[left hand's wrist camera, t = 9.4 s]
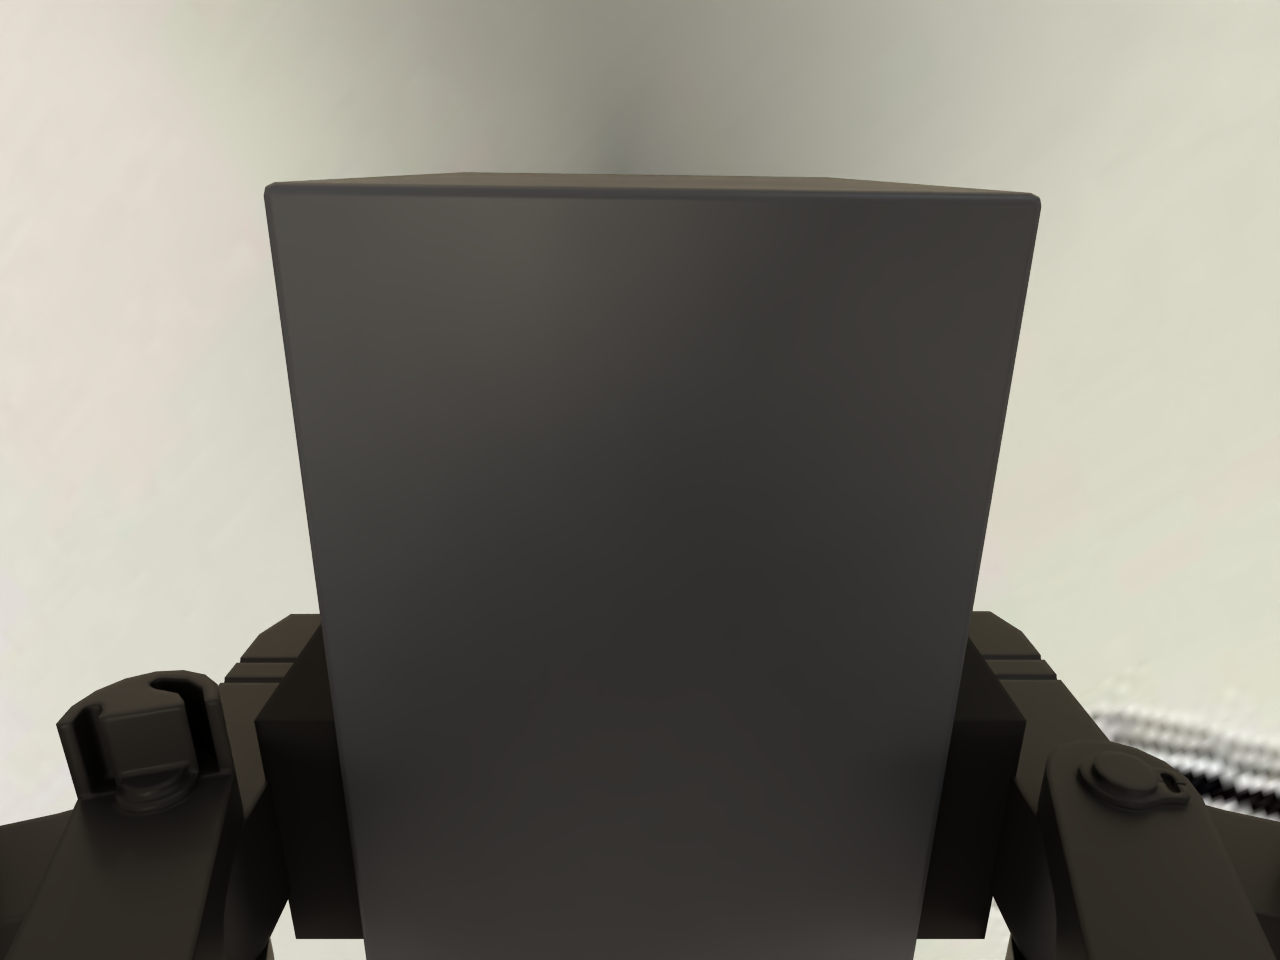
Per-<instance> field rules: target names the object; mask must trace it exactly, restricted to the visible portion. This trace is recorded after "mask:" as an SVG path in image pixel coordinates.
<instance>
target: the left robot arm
mask: <svg viewBox="0 0 1280 960" xmlns="http://www.w3.org/2000/svg"><path fill="white" fill-rule="evenodd" d="M1056 676H1057V675H1056V674H1055V672H1054V671H1053V670H1052V669H1051V667H1050V666H1049V665H1048V664H1047V662H1046V661H1045V660H1041V655H1040V654H1039V652H1038V651H1037V650H1036V649H1035V647H1034V646H1033V645H1032V644H1031V642H1030V641H1029V640H1028V639H1027V638H1026V636H1025V635H1024V634H1023V633H1022V631H1020V630H1018V629H1017V628H1015V627H1014V626H1012V625H1011V624H1009V623H1007V622H1006V621H1004V620H1003V619H1001V618H1000V617H998V616H996V615H995V614H993V613H992V612H990V611H972V616H971V622H970V628H969V634H968V640H967V646H966V651H965V657H964V663H963V669H962V675H961V681H960V687H959V693H958V698H957V704H956V710H955V716H954V722H953V728H952V734H951V740H950V745H949V751H948V757H947V763H946V769H945V775H944V781H943V787H942V792H941V798H940V804H939V810H938V816H937V822H936V828H935V834H934V839H933V845H932V851H931V857H930V863H929V869H928V875H927V881H926V886H925V892H924V898H923V904H922V910H921V916H920V922H919V928H918V933H917V939H985V934H986V928H987V923H988V918H989V913H990V908H991V903H992V897H994V899H995V901H996V903H997V906H998V908H999V910H1000V912H1001V914H1002V916H1003V918H1004V920H1005V922H1006V924H1007V926H1008V929H1009V931H1010V933H1011V934H1010V939H1009V944H1008V949H1007V953H1006V958H1005V960H1280V822H1277V821H1273V820H1268V819H1263V818H1258V817H1254V816H1249V815H1244V814H1240V813H1235V812H1230V811H1225V810H1222V809H1218V808H1214V807H1211V806H1207V805H1205V803H1204V801H1203V799H1202V797H1201V796H1200V794H1199V793H1198V792H1197V790H1196V789H1195V788H1194V786H1193V785H1192V784H1191V782H1190V781H1189V780H1188V779H1187V778H1186V777H1185V776H1183V775H1182V774H1181V773H1179V772H1178V771H1177V770H1175V769H1174V768H1173V767H1171V766H1170V765H1169V764H1167V763H1166V762H1164V761H1162V760H1160V759H1158V758H1156V757H1154V756H1152V755H1150V754H1147V753H1145V752H1143V751H1141V750H1139V749H1137V748H1133V747H1129V746H1126V745H1122V744H1118V743H1114V742H1111V741H1109V739H1108V738H1107V737H1106V736H1105V734H1104V733H1103V732H1102V731H1101V729H1100V728H1099V727H1098V726H1097V724H1096V723H1095V722H1094V721H1093V720H1092V718H1091V717H1090V716H1089V715H1088V713H1087V712H1086V711H1085V710H1084V708H1083V707H1082V706H1081V705H1080V703H1079V702H1078V701H1077V700H1076V698H1075V697H1074V696H1073V695H1072V693H1071V692H1070V691H1069V690H1068V688H1067V687H1066V686H1065V685H1064V683H1063V682H1062V681H1061V680H1057V677H1056ZM56 726H57V729H58V733H59V736H60V739H61V743H62V746H63V750H64V753H65V757H66V760H67V763H68V767H69V770H70V774H71V777H72V780H73V784H74V787H75V791H76V794H77V798H78V800H77V802H76V804H75V807H74V809H73V810H69V811H65V812H62V813H58V814H54V815H49V816H44V817H40V818H35V819H30V820H26V821H21V822H16V823H12V824H7V825H2V826H0V960H274V953H273V949H272V944H271V939H270V936H271V934H272V932H273V930H274V928H275V926H276V924H277V922H278V919H279V917H280V915H281V913H282V911H283V909H284V907H285V905H286V903H287V900H289V905H290V910H291V915H292V920H293V926H294V931H295V936H296V939H364V937H363V930H362V922H361V915H360V908H359V900H358V893H357V885H356V878H355V870H354V863H353V856H352V848H351V841H350V833H349V826H348V818H347V811H346V803H345V796H344V789H343V781H342V774H341V766H340V759H339V751H338V744H337V736H336V729H335V722H334V714H333V707H332V699H331V692H330V684H329V677H328V670H327V662H326V655H325V647H324V640H323V632H322V625H321V617H320V614H290V615H289V616H287V617H286V618H284V619H283V620H281V621H279V622H278V623H276V624H275V625H273V626H272V627H270V628H269V629H267V630H265V631H264V632H262V633H261V634H259V635H258V637H257V638H256V639H255V640H254V642H253V643H252V644H251V645H250V647H249V648H248V649H247V650H246V652H245V653H244V654H243V655H242V657H241V658H240V663H236V664H235V665H234V667H233V668H232V669H231V670H230V672H229V673H228V674H227V676H226V677H225V681H224V683H220V684H219V686H218V684H216V683H215V682H214V681H213V680H211V679H210V678H209V677H207V676H206V675H204V674H200V673H195V672H190V671H185V670H177V671H157V672H152V673H148V674H143V675H139V676H135V677H130V678H126V679H124V680H121V681H119V682H116V683H114V684H111V685H109V686H106V687H104V688H102V689H99V690H97V691H95V692H93V693H92V694H90V695H89V696H87V697H86V698H84V699H83V700H81V701H79V702H78V703H76V704H75V705H73V706H72V707H71V708H70V709H69V710H68V711H67V712H66V713H65V715H64V716H63V717H62V718H61V719H60V720H59V721H58V722H57V724H56Z"/></svg>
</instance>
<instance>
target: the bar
mask: <svg viewBox="0 0 1280 960" xmlns="http://www.w3.org/2000/svg"><path fill="white" fill-rule="evenodd" d="M264 201H265V208H266V216H267V223H268V231H269V238H270V246H271V253H272V260H273V268H274V275H275V283H276V290H277V298H278V305H279V312H280V320H281V327H282V335H283V342H284V350H285V357H286V365H287V372H288V379H289V387H290V394H291V402H292V409H293V417H294V424H295V431H296V439H297V446H298V454H299V461H300V469H301V476H302V484H303V491H304V498H305V506H306V513H307V521H308V528H309V536H310V543H311V551H312V558H313V565H314V573H315V580H316V588H317V595H318V603H319V610H320V617H321V625H322V632H323V640H324V647H325V655H326V662H327V670H328V677H329V684H330V692H331V699H332V707H333V714H334V722H335V729H336V736H337V744H338V751H339V759H340V766H341V774H342V781H343V789H344V796H345V803H346V811H347V818H348V826H349V833H350V841H351V848H352V856H353V863H354V870H355V878H356V885H357V893H358V900H359V908H360V915H361V922H362V930H363V937H364V945H365V952H366V960H913V957H914V951H915V945H916V939H917V933H918V928H919V922H920V916H921V910H922V904H923V898H924V892H925V886H926V881H927V875H928V869H929V863H930V857H931V851H932V845H933V839H934V834H935V828H936V822H937V816H938V810H939V804H940V798H941V792H942V787H943V781H944V775H945V769H946V763H947V757H948V751H949V745H950V740H951V734H952V728H953V722H954V716H955V710H956V704H957V698H958V693H959V687H960V681H961V675H962V669H963V663H964V657H965V651H966V646H967V640H968V634H969V628H970V622H971V616H972V610H973V604H974V599H975V593H976V587H977V581H978V575H979V569H980V563H981V557H982V552H983V546H984V540H985V534H986V528H987V522H988V516H989V510H990V505H991V499H992V493H993V487H994V481H995V475H996V469H997V463H998V458H999V452H1000V446H1001V440H1002V434H1003V428H1004V422H1005V416H1006V411H1007V405H1008V399H1009V393H1010V387H1011V381H1012V375H1013V369H1014V364H1015V358H1016V352H1017V346H1018V340H1019V334H1020V328H1021V322H1022V317H1023V311H1024V305H1025V299H1026V293H1027V287H1028V281H1029V275H1030V270H1031V264H1032V258H1033V252H1034V246H1035V240H1036V234H1037V228H1038V223H1039V217H1040V211H1041V202H1040V198H1039V197H1038V196H1036V195H1034V194H1032V193H1024V192H1011V191H998V190H985V189H972V188H959V187H946V186H933V185H919V184H906V183H893V182H880V181H867V180H854V179H841V178H827V177H756V176H685V175H615V174H544V173H473V172H462V173H443V174H424V175H405V176H386V177H367V178H348V179H329V180H310V181H290V182H274V183H272V184H270V185H268V186H266V187H265V192H264Z"/></svg>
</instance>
